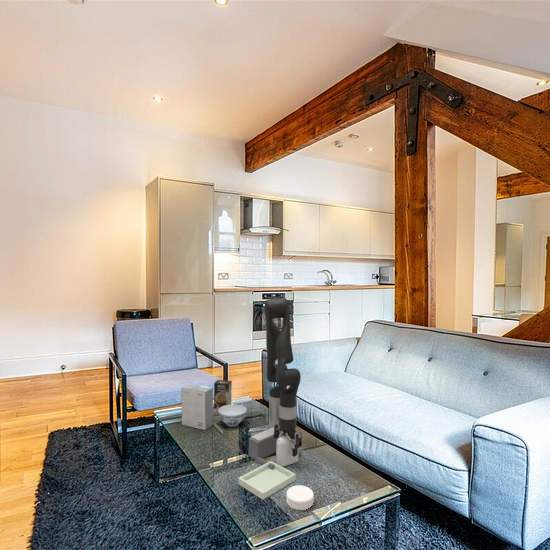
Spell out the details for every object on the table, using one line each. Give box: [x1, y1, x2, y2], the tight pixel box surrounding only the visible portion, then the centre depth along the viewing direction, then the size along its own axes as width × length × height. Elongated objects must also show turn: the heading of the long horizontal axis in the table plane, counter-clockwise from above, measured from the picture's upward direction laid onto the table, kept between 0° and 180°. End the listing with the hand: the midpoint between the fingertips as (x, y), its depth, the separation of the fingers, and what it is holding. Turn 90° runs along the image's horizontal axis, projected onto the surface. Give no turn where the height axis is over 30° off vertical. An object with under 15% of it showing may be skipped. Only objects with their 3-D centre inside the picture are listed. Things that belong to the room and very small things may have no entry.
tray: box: [237, 460, 297, 501], centre depth 150 cm, size 18×14×2 cm
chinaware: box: [217, 403, 248, 427], centre depth 203 cm, size 15×15×8 cm
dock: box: [248, 427, 302, 470], centre depth 170 cm, size 18×16×9 cm
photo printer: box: [275, 435, 299, 468], centre depth 164 cm, size 10×4×12 cm, turn 123°
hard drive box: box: [180, 383, 214, 431], centre depth 201 cm, size 16×8×20 cm, turn 65°
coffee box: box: [213, 379, 233, 411], centre depth 223 cm, size 9×6×16 cm
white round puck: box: [285, 484, 315, 511], centre depth 138 cm, size 10×10×4 cm
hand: (287, 452), depth 164 cm, fingers open, 8 cm apart
